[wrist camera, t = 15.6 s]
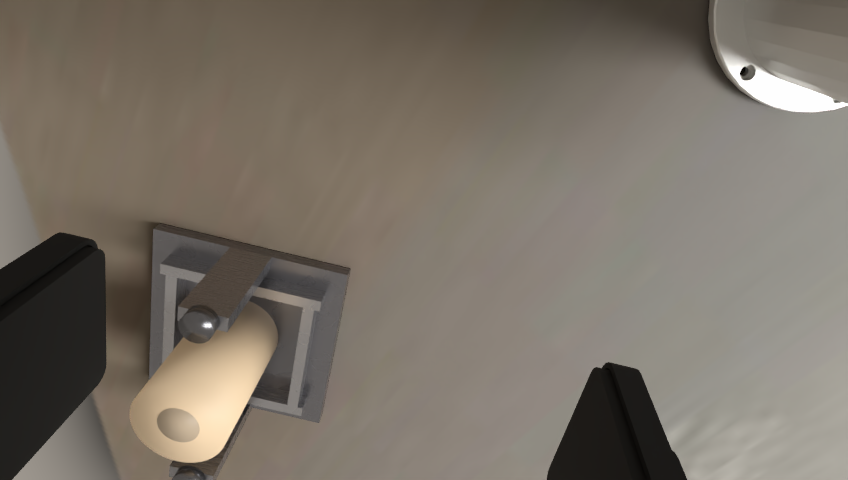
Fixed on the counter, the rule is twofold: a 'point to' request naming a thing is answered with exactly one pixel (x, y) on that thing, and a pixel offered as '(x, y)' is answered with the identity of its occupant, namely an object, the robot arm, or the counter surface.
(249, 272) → the stand
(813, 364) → the counter surface
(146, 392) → the paper roll
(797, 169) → the counter surface
